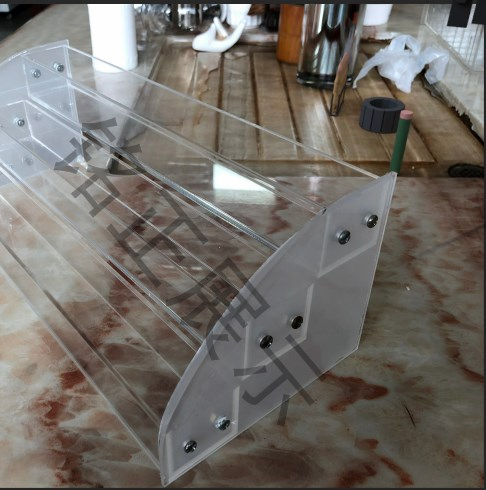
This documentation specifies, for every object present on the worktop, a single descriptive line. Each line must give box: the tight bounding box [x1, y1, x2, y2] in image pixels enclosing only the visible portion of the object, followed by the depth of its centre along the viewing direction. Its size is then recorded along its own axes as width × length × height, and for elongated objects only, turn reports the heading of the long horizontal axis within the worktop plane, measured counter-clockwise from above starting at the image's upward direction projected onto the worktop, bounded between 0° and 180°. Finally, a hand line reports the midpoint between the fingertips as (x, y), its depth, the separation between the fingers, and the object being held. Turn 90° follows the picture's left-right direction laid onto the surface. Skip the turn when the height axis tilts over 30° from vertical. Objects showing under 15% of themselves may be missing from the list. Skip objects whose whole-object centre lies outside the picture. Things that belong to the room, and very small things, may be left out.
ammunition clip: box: [328, 50, 349, 117], centre depth 136 cm, size 11×2×12 cm, turn 158°
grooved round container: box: [358, 96, 406, 134], centre depth 129 cm, size 9×9×5 cm
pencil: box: [388, 109, 414, 176], centre depth 108 cm, size 2×2×12 cm
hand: (468, 26), depth 94 cm, fingers open, 13 cm apart
